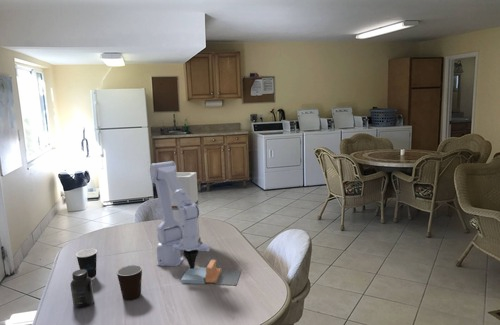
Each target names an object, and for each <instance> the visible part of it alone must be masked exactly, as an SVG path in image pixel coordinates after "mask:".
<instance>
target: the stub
mask: <svg viewBox="0 0 500 325" xmlns="http://www.w3.org/2000/svg"><path fill="white" fill-rule="evenodd" d="M205 268H206V275H207V278H206V281H205V283H213V284H214V283H215V284H216V282H217V280H218V277H219V275H220V273H221V271H222V268H220V267H219V268H218V267H217V260H216V259H211V260H210V261H209V263H208V264H207V266H206V267H205Z"/></svg>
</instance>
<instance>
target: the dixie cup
mask: <svg viewBox="0 0 500 325" xmlns="http://www.w3.org/2000/svg"><path fill="white" fill-rule="evenodd" d="M97 253H98V250H97V249H96V248H86V249H82V250H80V251H77V252H76V253H75V256H76V259H77V263H78V266H79V270H81V269H85V270H87V274H88V277H90V278H91V280H92V281H93V280H95V279H96V277H97Z"/></svg>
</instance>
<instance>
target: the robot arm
mask: <svg viewBox="0 0 500 325" xmlns="http://www.w3.org/2000/svg"><path fill="white" fill-rule="evenodd" d="M177 172H178V171H177V165H176V163H175V161H173V160H170V161H169V160H168V161H163V162H156V163H155V162H153V163H151V165H150V166H149V174H150V180H151V183H152V184H155V189H156V193H157V198H158V200H157V201H158V203H159V209H160V214H161V223H160V224H158V226H157V229H156V230H157V234H156V236H157V240H158V242H159V243H158V244H157V246H156V255H157V256H156V258H157V263H156V264H157V266H165V267H166V266H170V267H171V266H173V267H178V266H180V264H181V263H182V261H183V260H184V259H186V261H187V262H188V265H189V267H190V269H194V267H195V266H196V260H197V257H198V254H199V252H200V251H201V252H202V251H203V252H204V251H205V252H209V251H210V250H211V248H210V247H211V246H210V244H204V243H203V244H202V243H198V232H197V218H200V217H199V216H200V210H199V209H200V208H199V207H198V206H199V205H198V206H197V205H196V204H195V203H194V202H191V200H190V198H189V196H188V194H187V192H186V191H185V190H183V189H181V186H180V184H179V181H178V179H177V176H176V173H177ZM168 185H169V187H170V188H171V190H172V191H173V193H174V194H173V199H174V201H175V203H176V205H177V207H178V209H179V212H178V213H179V217H180V222H181V224H182V228H181V225H180V223H179V222H178V221H176V220H174V216H173V211H172V206H171V200H170V195H169V190H168ZM171 226H174V227H171ZM169 227H171V228H169ZM182 238H183V244H180V242H181V239H182ZM181 251H183V256H184V257H185V258H184V257H183V256H181Z"/></svg>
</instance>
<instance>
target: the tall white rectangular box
mask: <svg viewBox="0 0 500 325" xmlns="http://www.w3.org/2000/svg"><path fill="white" fill-rule="evenodd" d="M197 175H198V174H197V172H196V171H195V172H190V171H189V172H185V171H184V172H183V171H182V172H181V171H180V172H178V171H177V173H176V176H177V179H178V181H179V184H180V186H181V189H183V190H185V191H186V192H187V194H188V196H189V198H190V200H191V202H194V203H195V204H196V205H197V206H198V208H199V190H198V176H197ZM168 190H169V195H170V200H171V206H172V211H173V216H174V220H176V221H178V222H179V223H180V225H181V228H182V224H181V222H180V217H179V213H178V212H179V209H178V207H177V205H176V203H175V201H174V199H173V194H174V193H173V191H172V190H171V188H170V187H169V185H168ZM199 218H200V217H198V218H197V232H198V243H199V244H201V241H202V240H201V236H200V222H199ZM171 227H174V226H171ZM171 227H168V228H171ZM180 244H183V238H182V239H181V242H180Z"/></svg>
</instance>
